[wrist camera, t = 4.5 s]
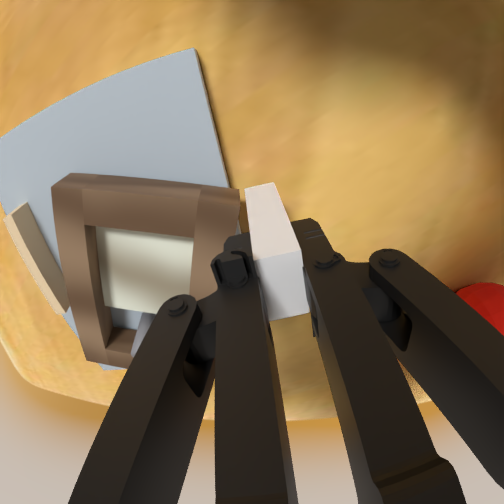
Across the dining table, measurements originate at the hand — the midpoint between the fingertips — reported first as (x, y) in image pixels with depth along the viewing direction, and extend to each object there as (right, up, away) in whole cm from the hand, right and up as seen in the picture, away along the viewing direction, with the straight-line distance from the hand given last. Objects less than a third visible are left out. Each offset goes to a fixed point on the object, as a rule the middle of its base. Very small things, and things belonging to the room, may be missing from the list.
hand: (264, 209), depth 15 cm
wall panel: (-9, -2, +4) cm, 10 cm away
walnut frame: (-7, -4, +3) cm, 9 cm away
